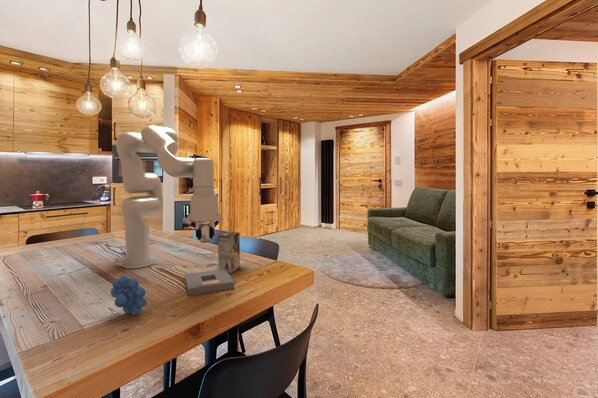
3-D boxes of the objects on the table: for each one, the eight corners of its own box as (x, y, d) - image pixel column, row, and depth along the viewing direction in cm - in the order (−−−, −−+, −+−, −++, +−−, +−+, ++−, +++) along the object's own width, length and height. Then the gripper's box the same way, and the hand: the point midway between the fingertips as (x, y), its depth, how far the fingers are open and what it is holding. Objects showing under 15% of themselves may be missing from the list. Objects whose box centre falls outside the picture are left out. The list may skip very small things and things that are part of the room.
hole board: (188, 295, 101) (188, 288, 101) (185, 280, 115) (184, 273, 115) (234, 288, 108) (234, 281, 108) (225, 274, 122) (225, 268, 122)
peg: (200, 243, 108) (199, 224, 107) (199, 241, 112) (198, 223, 111) (211, 242, 110) (210, 224, 109) (209, 240, 113) (209, 222, 113)
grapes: (100, 318, 85) (98, 279, 84) (118, 308, 91) (116, 271, 90) (136, 322, 83) (134, 282, 82) (151, 311, 89) (150, 273, 88)
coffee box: (227, 265, 134) (227, 231, 133) (240, 266, 133) (240, 232, 131) (218, 272, 125) (217, 235, 124) (231, 273, 124) (231, 236, 122)
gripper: (180, 192, 102) (182, 243, 104) (228, 191, 109) (229, 238, 111) (179, 191, 109) (181, 238, 110) (224, 190, 116) (225, 235, 118)
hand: (205, 238), depth 111 cm, fingers closed on peg, 4 cm apart
